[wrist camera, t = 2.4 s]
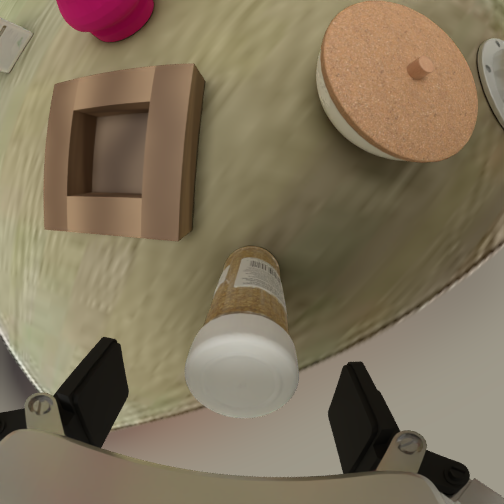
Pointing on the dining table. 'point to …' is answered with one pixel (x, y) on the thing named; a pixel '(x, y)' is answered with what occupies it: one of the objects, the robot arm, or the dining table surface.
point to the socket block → (124, 152)
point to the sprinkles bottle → (245, 341)
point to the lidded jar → (396, 83)
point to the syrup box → (11, 43)
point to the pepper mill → (106, 16)
